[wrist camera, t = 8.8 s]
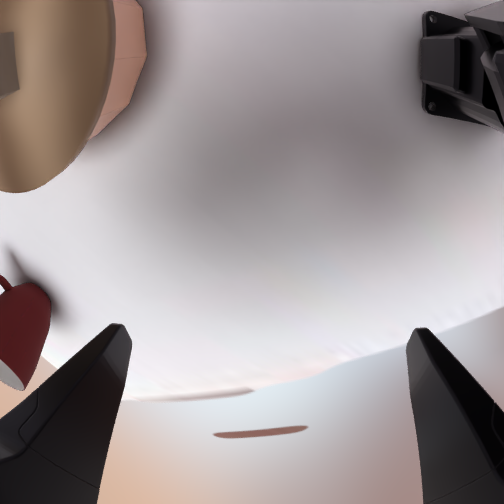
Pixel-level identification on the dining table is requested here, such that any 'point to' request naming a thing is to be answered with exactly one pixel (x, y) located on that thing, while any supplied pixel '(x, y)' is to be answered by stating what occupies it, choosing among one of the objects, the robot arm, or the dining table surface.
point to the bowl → (124, 60)
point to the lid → (51, 84)
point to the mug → (22, 331)
